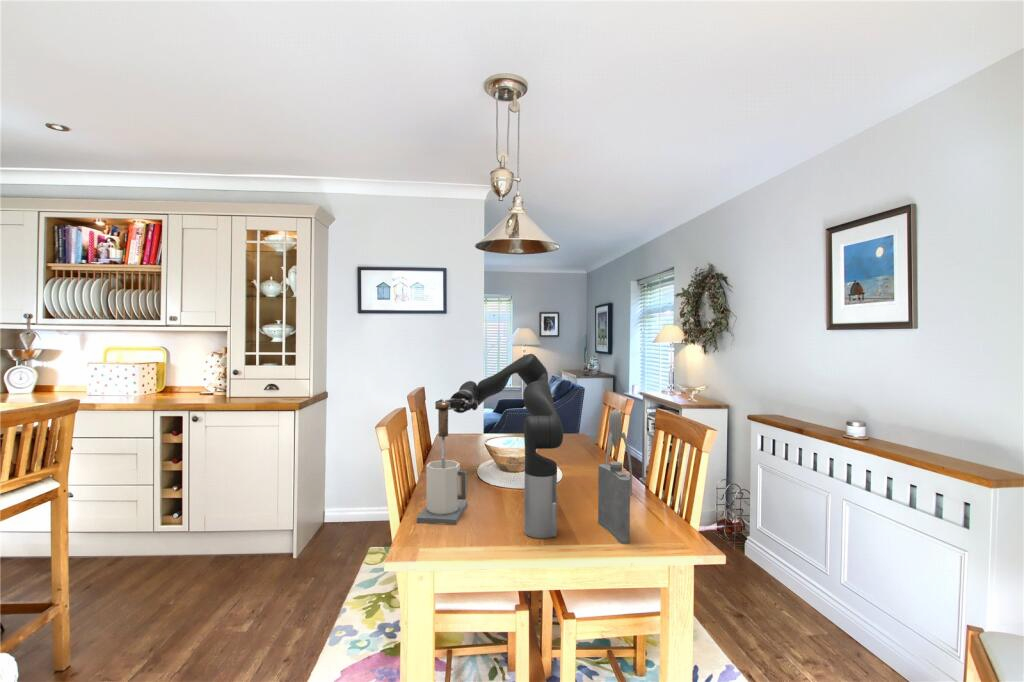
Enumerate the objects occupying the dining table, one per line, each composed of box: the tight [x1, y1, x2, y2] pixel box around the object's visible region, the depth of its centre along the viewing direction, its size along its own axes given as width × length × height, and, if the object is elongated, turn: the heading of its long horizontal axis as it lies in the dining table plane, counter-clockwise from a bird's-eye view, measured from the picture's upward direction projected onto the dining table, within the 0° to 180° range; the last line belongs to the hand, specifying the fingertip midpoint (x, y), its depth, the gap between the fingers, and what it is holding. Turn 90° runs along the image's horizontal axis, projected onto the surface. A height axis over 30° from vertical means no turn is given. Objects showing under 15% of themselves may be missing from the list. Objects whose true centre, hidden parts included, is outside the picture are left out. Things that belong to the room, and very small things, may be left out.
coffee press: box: [416, 459, 468, 525], centre depth 157 cm, size 13×16×16 cm
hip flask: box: [597, 461, 631, 545], centre depth 144 cm, size 16×4×20 cm, turn 15°
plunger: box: [436, 402, 450, 469], centre depth 156 cm, size 8×8×23 cm
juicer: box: [605, 408, 633, 497], centre depth 175 cm, size 10×9×30 cm
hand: (452, 408), depth 168 cm, fingers open, 8 cm apart
